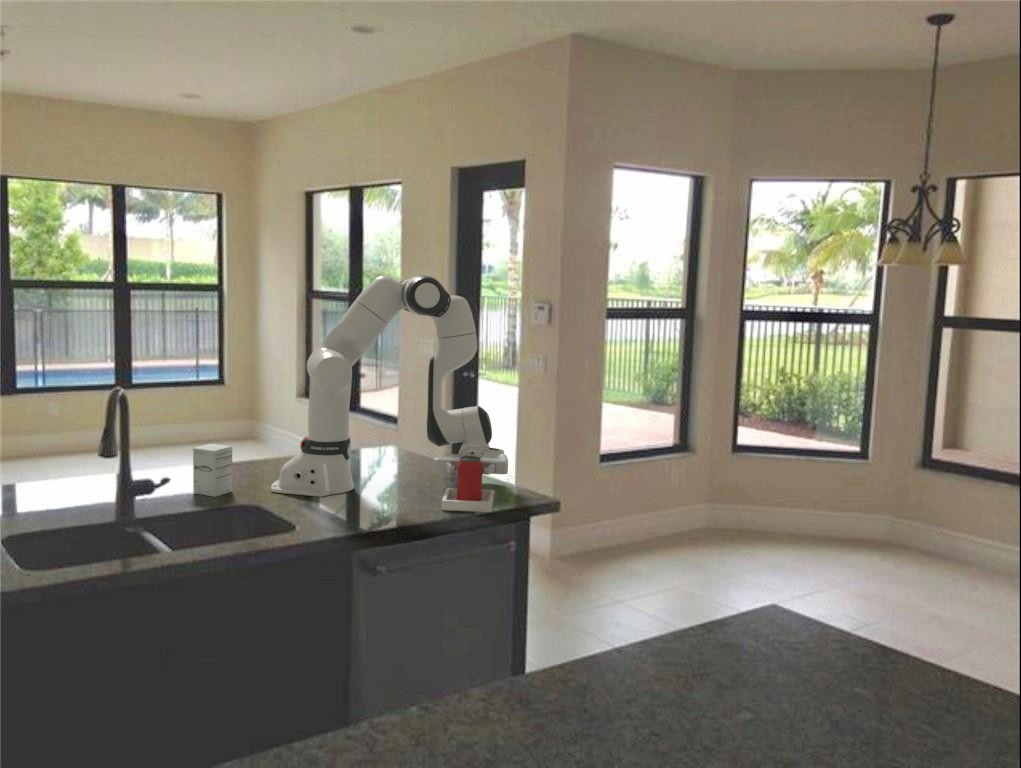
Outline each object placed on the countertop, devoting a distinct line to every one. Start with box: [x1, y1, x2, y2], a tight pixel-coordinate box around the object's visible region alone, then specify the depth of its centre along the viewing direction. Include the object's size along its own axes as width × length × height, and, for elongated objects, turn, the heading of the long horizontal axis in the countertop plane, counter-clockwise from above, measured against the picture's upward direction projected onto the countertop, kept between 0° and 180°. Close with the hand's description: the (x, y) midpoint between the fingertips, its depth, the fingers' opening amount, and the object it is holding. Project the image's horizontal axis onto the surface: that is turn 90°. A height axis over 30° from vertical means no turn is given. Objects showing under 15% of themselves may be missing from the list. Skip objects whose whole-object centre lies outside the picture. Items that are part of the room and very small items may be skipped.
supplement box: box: [192, 443, 233, 498], centre depth 225 cm, size 7×7×13 cm
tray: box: [441, 487, 495, 513], centre depth 223 cm, size 13×13×2 cm
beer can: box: [456, 456, 483, 501], centre depth 223 cm, size 7×7×12 cm
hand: (469, 470), depth 222 cm, fingers open, 8 cm apart
